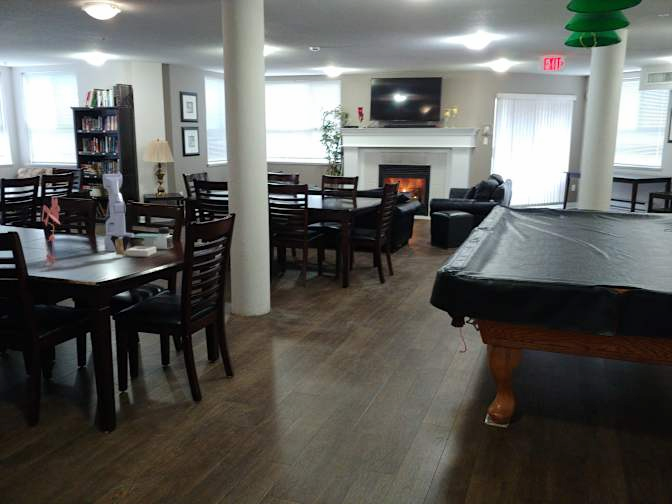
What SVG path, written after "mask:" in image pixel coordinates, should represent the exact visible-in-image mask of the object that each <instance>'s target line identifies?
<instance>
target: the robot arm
mask: <svg viewBox="0 0 672 504" xmlns="http://www.w3.org/2000/svg"><path fill="white" fill-rule="evenodd" d="M102 184H103V188H104V189H106V190H107V194H108V201H109V202H108V204H109V206H108V207H109V215H110V216H109V219H107V220H106V221H105V236H104V239H103V241H104V242H103V243H104V250H103V251H104V252H116V244H115V240H116V239H122V240H123V248H124V250H128V245H129V241H130V240H131V238H135V237H134V236H135V234H134V233H133V232H127V231H126V216H125V215H126V211H127V209H126V203H125V201H124V199H123V195H122V193H121V192H120V189H121V188H122V184H123V175H122V173H103V174H102Z"/></svg>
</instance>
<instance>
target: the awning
mask: <svg viewBox="0 0 672 504" xmlns="http://www.w3.org/2000/svg"><path fill="white" fill-rule="evenodd" d="M160 236H161V234H159V233H137V234H134V237H133V238H143V246H150V247H156V238H158V237H160Z"/></svg>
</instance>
